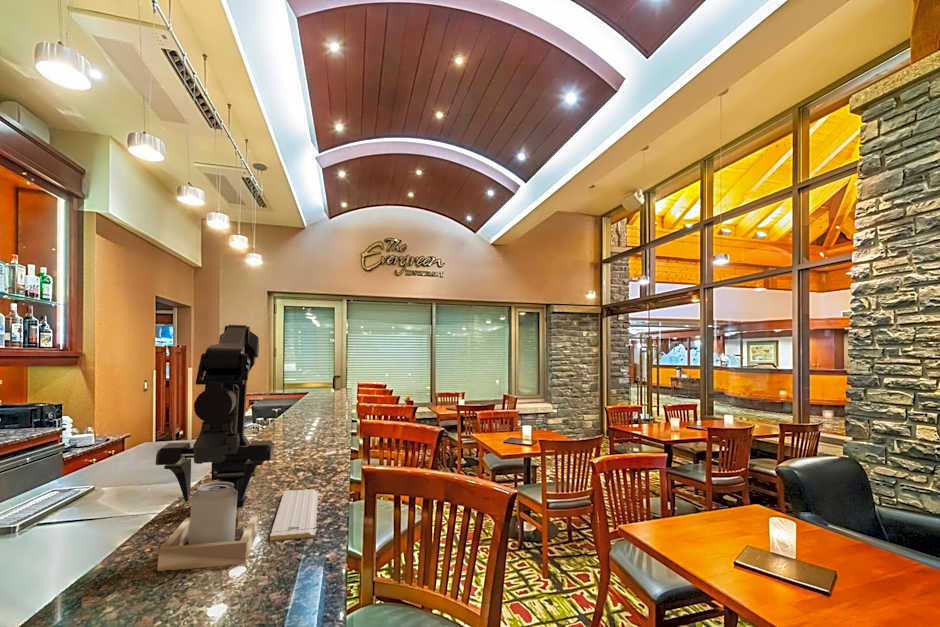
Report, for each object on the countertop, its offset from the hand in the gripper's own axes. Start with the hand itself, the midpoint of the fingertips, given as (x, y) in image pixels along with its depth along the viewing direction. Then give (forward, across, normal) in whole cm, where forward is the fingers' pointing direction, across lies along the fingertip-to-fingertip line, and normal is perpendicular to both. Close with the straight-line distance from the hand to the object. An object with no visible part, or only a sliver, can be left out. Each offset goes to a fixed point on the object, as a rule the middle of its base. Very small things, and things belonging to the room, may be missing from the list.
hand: (215, 499), depth 85 cm
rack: (+9, 0, +2) cm, 10 cm away
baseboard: (+10, +14, +18) cm, 25 cm away
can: (+10, 0, 0) cm, 10 cm away
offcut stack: (+9, 0, +7) cm, 12 cm away
